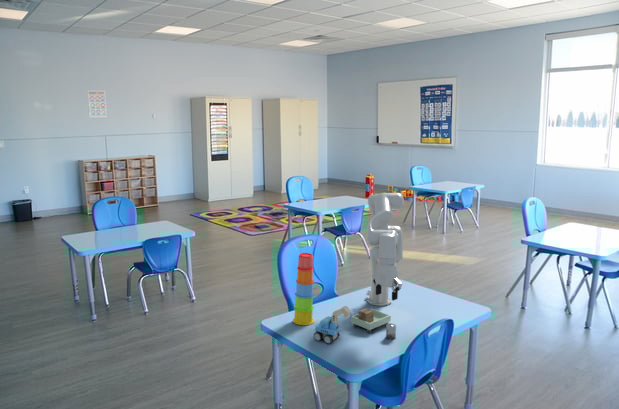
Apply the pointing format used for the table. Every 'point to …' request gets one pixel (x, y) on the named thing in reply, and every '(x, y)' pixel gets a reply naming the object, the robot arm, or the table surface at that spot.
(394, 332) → the grey metal cylinder
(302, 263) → the stacking cups
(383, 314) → the parts cart
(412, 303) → the table surface
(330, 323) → the toy excavator
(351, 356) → the table surface
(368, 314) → the walnut block
